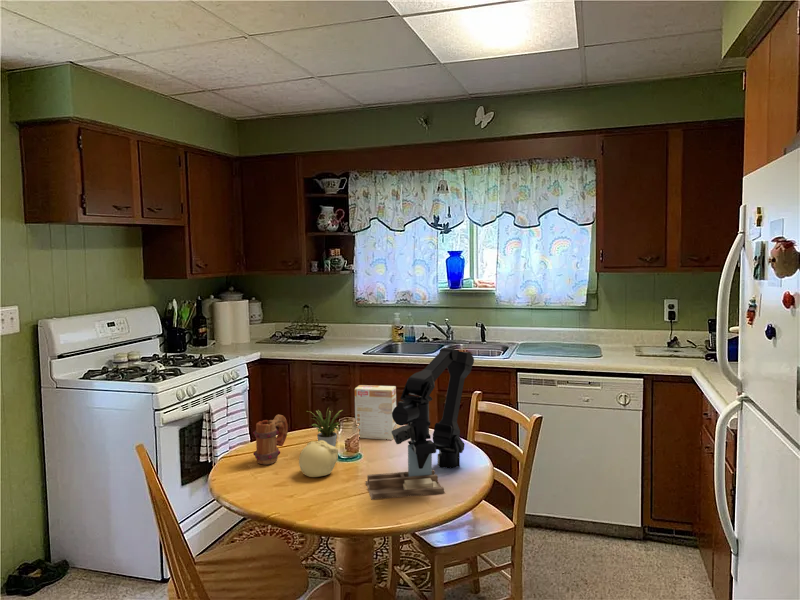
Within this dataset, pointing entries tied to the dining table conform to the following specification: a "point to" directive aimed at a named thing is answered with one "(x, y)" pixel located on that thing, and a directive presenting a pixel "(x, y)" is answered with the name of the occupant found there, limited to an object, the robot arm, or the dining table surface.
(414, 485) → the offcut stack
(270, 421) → the mug
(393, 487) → the rack
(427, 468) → the light blue block
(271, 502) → the dining table surface
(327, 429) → the house plant
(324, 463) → the sculpture
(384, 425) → the coffeecake box
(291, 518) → the dining table surface
